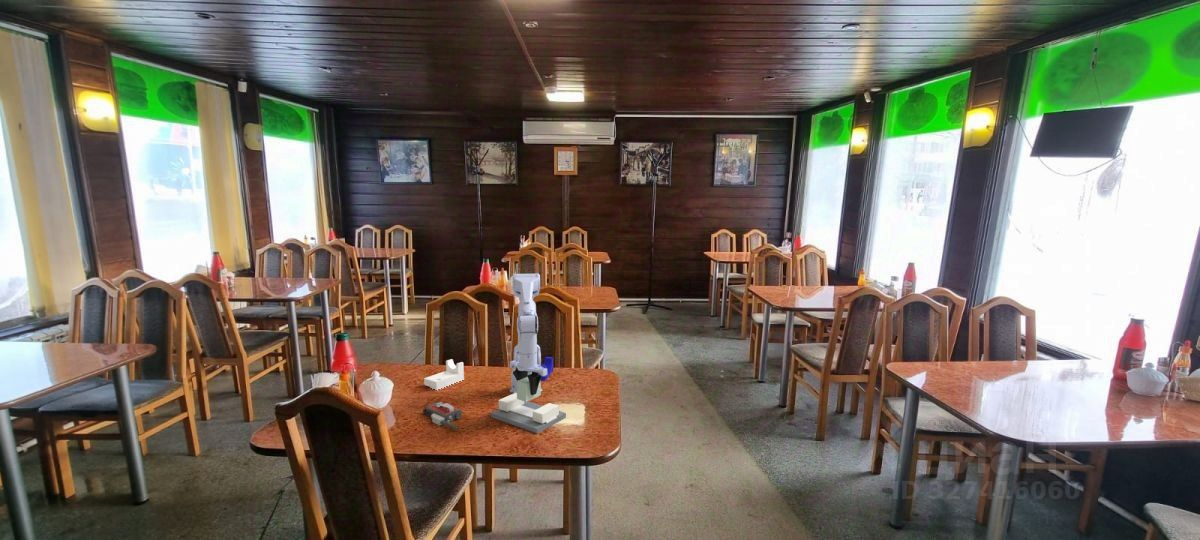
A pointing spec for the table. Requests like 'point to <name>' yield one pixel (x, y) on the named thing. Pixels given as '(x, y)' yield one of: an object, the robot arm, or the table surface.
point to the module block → (526, 390)
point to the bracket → (446, 376)
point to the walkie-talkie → (443, 413)
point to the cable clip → (547, 367)
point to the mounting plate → (527, 414)
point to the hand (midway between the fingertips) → (528, 392)
